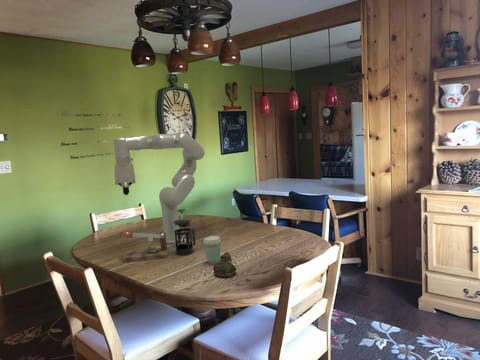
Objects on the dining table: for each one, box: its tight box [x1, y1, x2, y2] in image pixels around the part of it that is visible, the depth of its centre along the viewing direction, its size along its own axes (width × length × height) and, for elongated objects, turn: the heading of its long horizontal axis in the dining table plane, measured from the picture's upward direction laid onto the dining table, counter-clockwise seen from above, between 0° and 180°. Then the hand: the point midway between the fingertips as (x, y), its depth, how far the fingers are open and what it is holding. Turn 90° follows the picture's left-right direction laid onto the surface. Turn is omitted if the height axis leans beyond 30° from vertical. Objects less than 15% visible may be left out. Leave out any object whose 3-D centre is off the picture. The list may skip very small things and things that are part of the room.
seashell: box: [212, 251, 237, 278], centre depth 163 cm, size 11×12×10 cm
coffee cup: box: [202, 235, 222, 265], centre depth 180 cm, size 8×8×12 cm
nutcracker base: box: [122, 232, 169, 263], centre depth 194 cm, size 22×12×11 cm, turn 99°
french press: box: [173, 209, 196, 256], centre depth 197 cm, size 12×9×23 cm
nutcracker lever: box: [119, 231, 165, 242], centre depth 193 cm, size 22×3×4 cm, turn 100°
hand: (126, 194), depth 203 cm, fingers closed
